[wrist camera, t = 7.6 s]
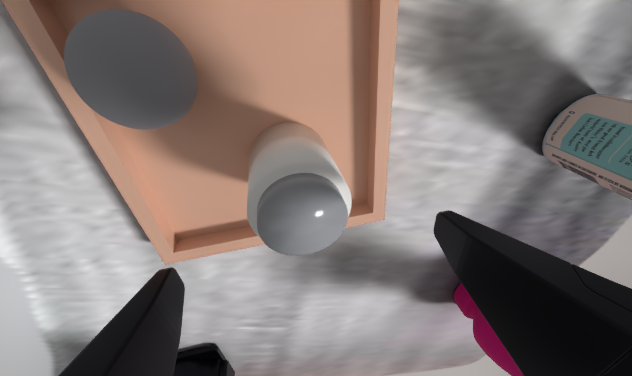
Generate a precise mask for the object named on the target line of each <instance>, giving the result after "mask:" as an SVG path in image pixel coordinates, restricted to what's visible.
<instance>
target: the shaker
mask: <svg viewBox="0 0 632 376" xmlns="http://www.w3.org/2000/svg"><path fill="white" fill-rule="evenodd" d="M351 205H352V199H351V193H350V190H349V188H348V185H347V183H346V182H345V180H344V178H343V176H342V174H341V172H340V171H339V169H338V167H337V165H336V163H335V162H334V160H333V158H332V156H331V154H330V152H329V151H328V149H327V147H326V145H325V143H324V141H323V140H322V138H321V137H320V135H319V134H318V133H317V132H316V131H314V130H313V129H312V128H310V127H308V126H306V125H304V124H301V123H296V122H283V123H279V124H275V125H273V126H271V127H269V128H267V129H266V130H264V131H263V132H262V133H261V134H260V135H259V136H258V137H257V138H256V139H255V141H254V143H253V145H252V147H251V151H250V157H249V175H248V194H247V218H248V222H249V224H250V226H251V228H252V230H253V231H254V232H255V233H256V235H257V236H259V237H260V238H261V239H262V241H263V242H264V243H265V244H266V245H267V246H268V247H269V248H271V249H272V250H274V251H276V252H279V253H282V254H286V255H294V256H300V255H308V254H312V253H315V252H318V251H321V250H323V249H325V248H326V247H328V246H330V245H331V244H332V243H334V242H335V241H336V240H337V239H338V238H339V237H340V235H341V234H342V233H343V231H344V229H345V227H346V224H347V220H348V216H349V214H350V211H351Z"/></svg>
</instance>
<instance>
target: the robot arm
mask: <svg viewBox="0 0 632 376" xmlns="http://www.w3.org/2000/svg"><path fill="white" fill-rule="evenodd" d="M434 235H435V237H436V239H437V241H438V243H439V245H440V247H441V248H442V250H443V252H444V254H445V256H446V258H447V260H448V262H449V263H450V265H451V267H452V269H453V271H454V272H455V274H456V276H457V277H458V279H459V280H460V282H461V283H462V285H463V286H464V288H465V289H466V291H467V292H468V294H469V295H470V297H471V298H472V300H473V301H474V303H475V304H476V306H477V307H478V308H479V310H480V311H481V313H482V314H483V316H484V317H485V319H486V320H487V322H488V323H489V325H490V326H491V328H492V329H493V331H494V332H495V334H496V335H497V337H498V338H499V340H500V341H501V343H502V344H503V346H504V347H505V349H506V350H507V352H508V353H509V355H510V356H511V358H512V359H513V360H514V362H515V363H516V365H517V366H518V368H519V369H520V371H521V372H522V374H523V375H524V376H632V289H631V288H628V287H626V286H623V285H621V284H618V283H616V282H613V281H611V280H608V279H606V278H604V277H601V276H599V275H597V274H594V273H592V272H589V271H587V270H585V269H583V268H580V267H578V266H576V265H574V264H572V265H571V264H570V263H569V262H567V261H564V260H562V259H560V258H558V257H555V256H553V255H551V254H548V253H546V252H544V251H542V250H539V249H537V248H535V247H532V246H530V245H528V244H526V243H523V242H521V241H519V240H516V239H514V238H512V237H510V236H507V235H505V234H503V233H500V232H498V231H496V230H494V229H491V228H489V227H487V226H484V225H482V224H480V223H478V222H475V221H473V220H471V219H469V218H466V217H464V216H462V215H459V214H457V213H455V212H453V211H443V212H439V213H438V214H437V216H436V221H435V225H434ZM184 292H185V287H184V283H183V281H182V280H181V278H180V276H179V275H178V273H177V271H176V270H175V269H174V268H166V269H161V270H159V271H158V272H157V273H156V274H155V275H154V276H153V277H152V278H151V279H150V280H149V281H148V282H147V283H146V284H145V285H144V286H143V287H142V288H141V289H140V290H139V291H138V293H137V294H136V295H135V296H134V297H133V298H132V299H131V300H130V301H129V302H128V303H127V304H126V305H125V306H124V307H123V308H122V309H121V310H120V311H119V313H118V314H117V315H116V316H115V317H114V318H113V319H112V320H111V321H110V322H109V323H108V324H107V325H106V326H105V327H104V328H103V329H102V330H101V331H100V332H99V334H98V335H97V336H96V337H95V338H94V339H93V340H92V341H91V342H90V343H89V344H88V345H87V346H86V347H85V348H84V349H83V350H82V351H81V352H80V354H79V355H78V356H77V357H76V358H75V359H74V360H73V361H72V362H71V363H70V364H69V365H68V366H67V367H66V368H65V369H64V370H63V371H62V372H61V374H60V375H59V376H235V372H234V370H233V368H232V367H231V365H230V363H229V362H228V361H227V360H226V359H225V357H224V355H223V354H222V352H221V350H220V349H219V347H218V346H209V347H204V348H200V349H196V350H192V351H188V352H184V353H179V354H177V353H178V348H179V342H180V336H181V326H182V315H183V303H184Z"/></svg>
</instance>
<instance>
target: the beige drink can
mask: <svg viewBox="0 0 632 376" xmlns="http://www.w3.org/2000/svg"><path fill="white" fill-rule="evenodd" d="M542 149H543V154H544V156H545V157H546V158H547V159H548V160H550V161H552V162H554V163H556V164H558V165H560V166H562V167H564V168H566V169H568V170H570V171H572V172H575V173H577V174H579V175H581V176H583V177H585V178H587V179H589V180H591V181H593V182H595V183H597V184H599V185H602V186H604V187H606V188H608V189H610V190H612V191H614V192H616V193H618V194H620V195H622V196H624V197H627V198H629V199H631V200H632V101H631V100H627V99H622V98H618V97H613V96H608V95H604V94H592V95H589V96H585V97H583V98H581V99H579V100H577V101H575V102H574V103H573V104H571V105H570V106H569V107H567V108H566V109H565V110H563V111H562V112H561V113H560V114H559V115H558V116H557V117H556V118H555V119H554V120H553V122H552V123H551V125H550V126H549V128H548V130H547V132H546V134H545V137H544V140H543V145H542Z"/></svg>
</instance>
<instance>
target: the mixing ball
mask: <svg viewBox="0 0 632 376" xmlns="http://www.w3.org/2000/svg"><path fill="white" fill-rule="evenodd" d="M64 64H65V69H66V73H67V75H68V78H69V80H70V82H71V84H72V86H73V88H74V89H75V91H76V92H77V94H78V95H79V96H80V98H81V99H82V100H83V101H84V102H85V103H86V104H87V105H88V106H89V107H90V108H91V109H93V110H94V111H95V112H96V113H98V114H99V115H101V116H102V117H104V118H106V119H107V120H109V121H111V122H114V123H116V124H119V125H122V126H125V127H129V128H133V129H140V130H151V129H159V128H163V127H166V126H169V125H172V124H174V123H175V122H177V121H179V120H180V119H181V118H183V117H184V116H185V115H186V114H187V113H188V111H189V110H190V109H191V107H192V105H193V103H194V101H195V98H196V95H197V90H198V78H197V71H196V67H195V64H194V61H193V59H192V57H191V55H190V53H189V51H188V50H187V48H186V47H185V45H184V44H183V43H182V41H181V40H180V39H179V38H178V37H177V36H176V35H175V34H174V33H173V32H172V31H171V30H169V29H168V28H167V27H166V26H164V25H163V24H161V23H160V22H158V21H157V20H155V19H153V18H151V17H149V16H146V15H144V14H141V13H138V12H134V11H130V10H123V9H108V10H102V11H98V12H95V13H92V14H90V15H88V16H86V17H85V18H83V19H81V20H80V21H79V22H78V23H77V24H76V25H75V26H74V27H73V29H72V30H71V32H70V33H69V35H68V37H67V39H66V43H65V47H64Z"/></svg>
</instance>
